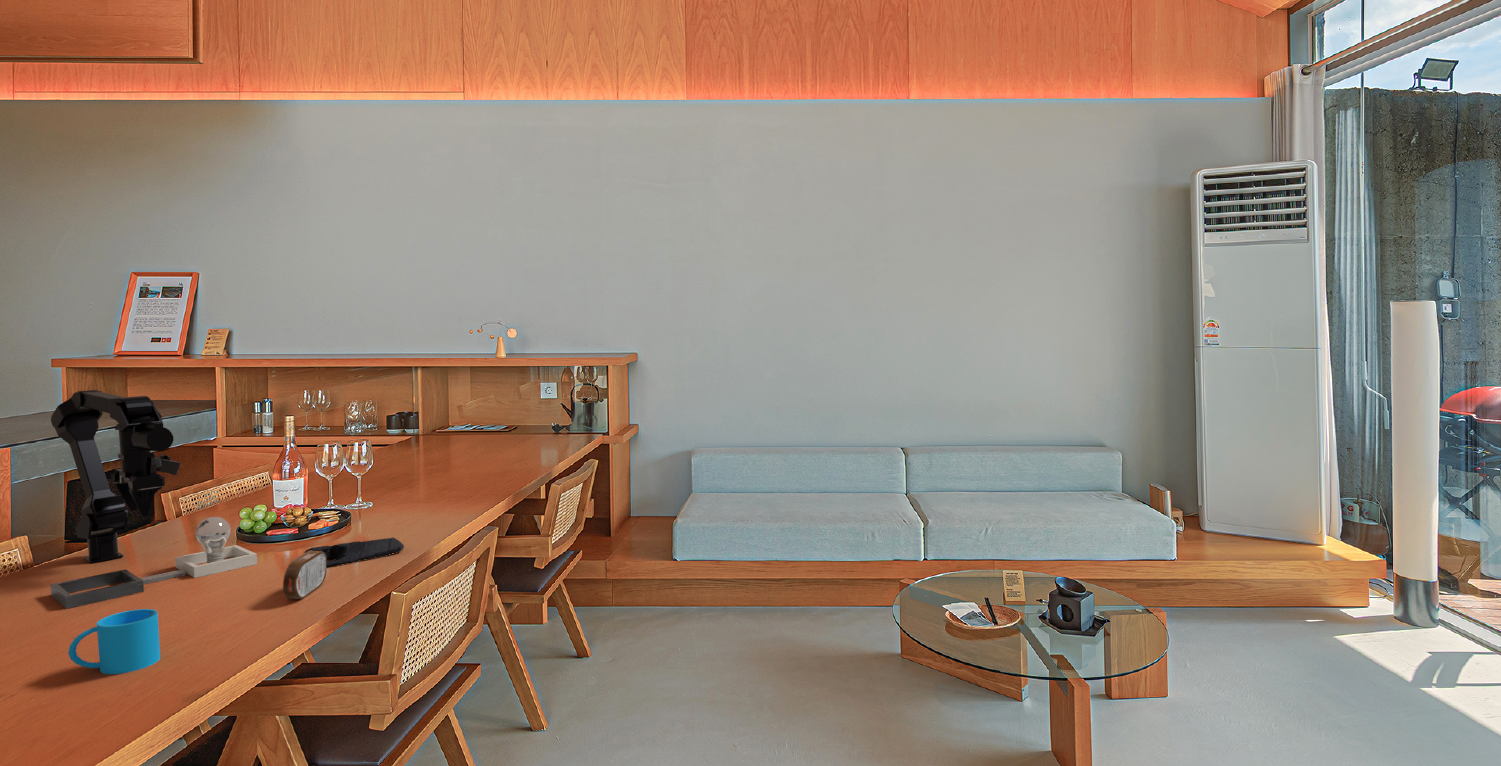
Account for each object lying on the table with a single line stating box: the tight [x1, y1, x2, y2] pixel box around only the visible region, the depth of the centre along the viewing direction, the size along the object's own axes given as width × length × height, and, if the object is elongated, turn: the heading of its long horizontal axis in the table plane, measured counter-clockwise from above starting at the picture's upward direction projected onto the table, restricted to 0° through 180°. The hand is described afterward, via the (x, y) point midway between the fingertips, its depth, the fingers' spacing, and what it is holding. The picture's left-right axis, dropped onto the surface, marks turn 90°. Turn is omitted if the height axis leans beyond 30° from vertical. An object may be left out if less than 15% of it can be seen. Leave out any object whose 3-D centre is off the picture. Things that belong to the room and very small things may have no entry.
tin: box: [282, 550, 327, 600], centre depth 169 cm, size 15×3×8 cm, turn 5°
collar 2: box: [174, 544, 258, 579], centre depth 189 cm, size 13×13×2 cm
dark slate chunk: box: [303, 537, 405, 568], centre depth 197 cm, size 15×22×5 cm
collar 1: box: [50, 568, 145, 610], centre depth 169 cm, size 13×13×2 cm
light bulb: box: [195, 516, 232, 564], centre depth 188 cm, size 7×7×12 cm
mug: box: [68, 608, 161, 675], centre depth 133 cm, size 12×8×8 cm
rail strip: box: [139, 569, 187, 585], centre depth 179 cm, size 3×9×1 cm, turn 142°
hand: (139, 513), depth 188 cm, fingers open, 9 cm apart
